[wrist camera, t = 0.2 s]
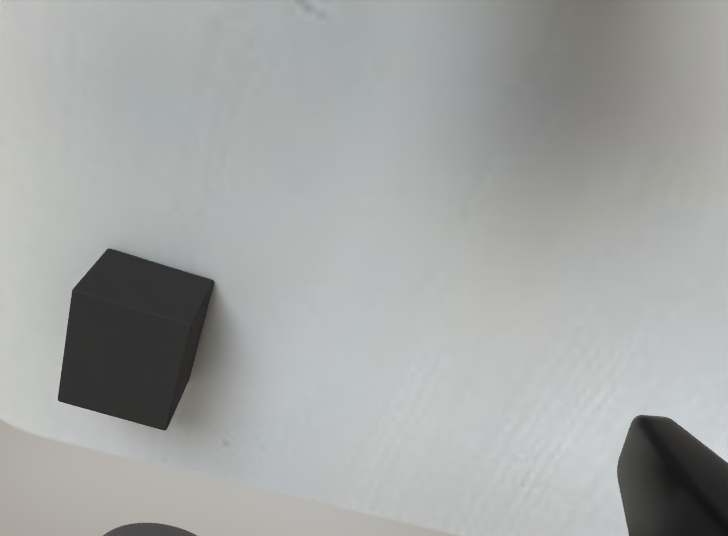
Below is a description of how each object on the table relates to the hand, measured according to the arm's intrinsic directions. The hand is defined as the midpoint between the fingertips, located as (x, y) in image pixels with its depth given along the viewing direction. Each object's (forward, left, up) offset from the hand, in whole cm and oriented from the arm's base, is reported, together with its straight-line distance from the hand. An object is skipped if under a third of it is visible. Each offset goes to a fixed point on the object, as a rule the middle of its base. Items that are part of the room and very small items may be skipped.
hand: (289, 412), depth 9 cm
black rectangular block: (-11, 0, -14) cm, 18 cm away
